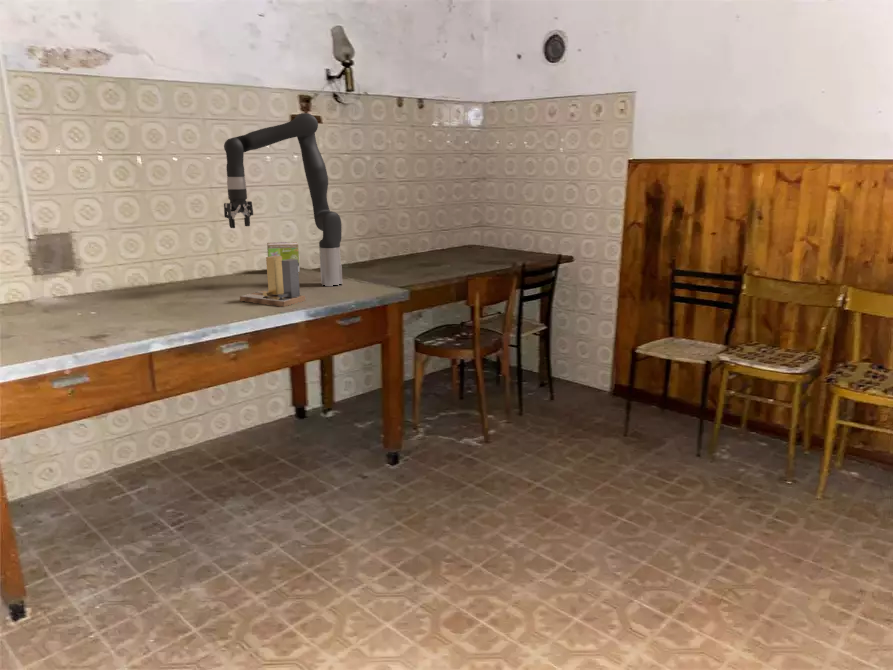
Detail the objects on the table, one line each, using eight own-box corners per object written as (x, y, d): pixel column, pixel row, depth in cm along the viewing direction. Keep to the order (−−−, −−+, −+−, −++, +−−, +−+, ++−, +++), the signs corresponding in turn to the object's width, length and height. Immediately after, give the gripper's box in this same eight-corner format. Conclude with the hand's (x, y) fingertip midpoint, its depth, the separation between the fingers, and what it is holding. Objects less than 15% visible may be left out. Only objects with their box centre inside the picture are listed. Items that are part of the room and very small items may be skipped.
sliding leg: (261, 296, 272) (258, 258, 268) (277, 292, 280) (274, 255, 276) (268, 297, 270) (265, 259, 266) (284, 293, 278) (282, 256, 274)
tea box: (269, 274, 336) (267, 244, 332) (268, 271, 345) (266, 242, 341) (300, 272, 340) (298, 243, 336) (298, 269, 349) (296, 241, 346)
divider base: (240, 301, 275) (236, 259, 271) (262, 295, 286) (259, 255, 282) (284, 306, 265) (281, 263, 260) (305, 300, 276) (303, 259, 272)
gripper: (231, 189, 273) (234, 229, 278) (255, 187, 286) (258, 226, 290) (217, 188, 277) (221, 228, 281) (242, 187, 289) (245, 225, 293)
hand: (240, 227), depth 285 cm, fingers open, 8 cm apart
